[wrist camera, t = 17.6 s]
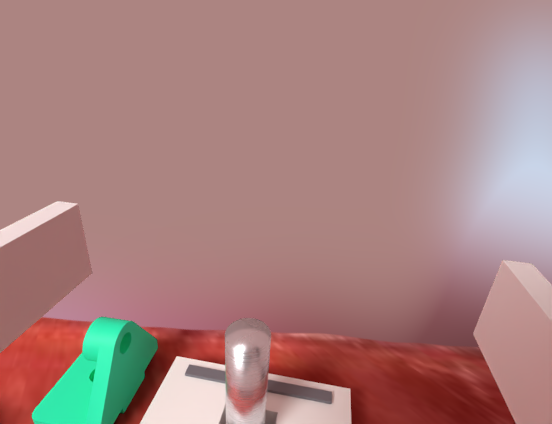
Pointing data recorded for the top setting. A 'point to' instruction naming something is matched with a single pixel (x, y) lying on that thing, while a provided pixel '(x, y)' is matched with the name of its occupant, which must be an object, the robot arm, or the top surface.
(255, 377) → the long pin
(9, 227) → the robot arm
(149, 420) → the hole plate
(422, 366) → the top surface
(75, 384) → the camera mount
